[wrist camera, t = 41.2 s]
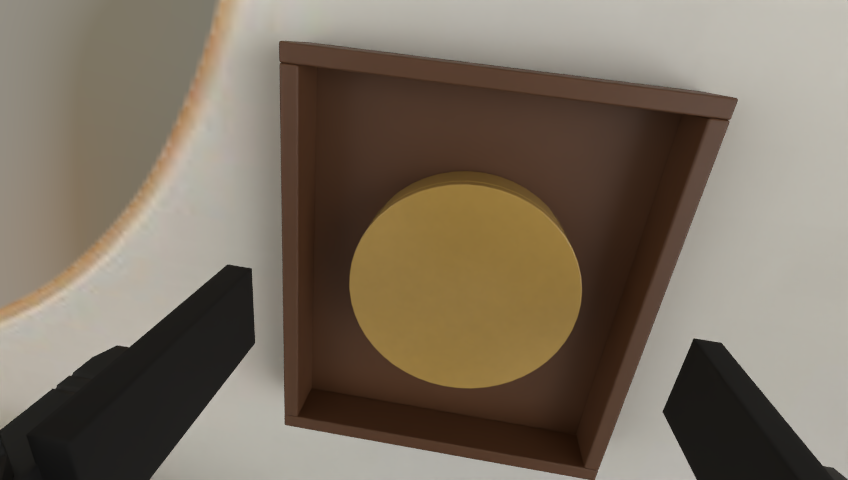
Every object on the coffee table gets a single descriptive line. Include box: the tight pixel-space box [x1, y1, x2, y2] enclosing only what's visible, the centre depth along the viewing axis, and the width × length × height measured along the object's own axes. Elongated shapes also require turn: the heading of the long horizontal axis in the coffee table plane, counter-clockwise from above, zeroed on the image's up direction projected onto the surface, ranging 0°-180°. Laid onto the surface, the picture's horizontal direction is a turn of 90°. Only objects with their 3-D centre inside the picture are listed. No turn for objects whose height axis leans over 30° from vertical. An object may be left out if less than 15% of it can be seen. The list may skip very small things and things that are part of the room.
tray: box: [279, 41, 738, 480], centre depth 17 cm, size 15×13×2 cm
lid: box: [349, 171, 582, 388], centre depth 17 cm, size 8×8×2 cm
